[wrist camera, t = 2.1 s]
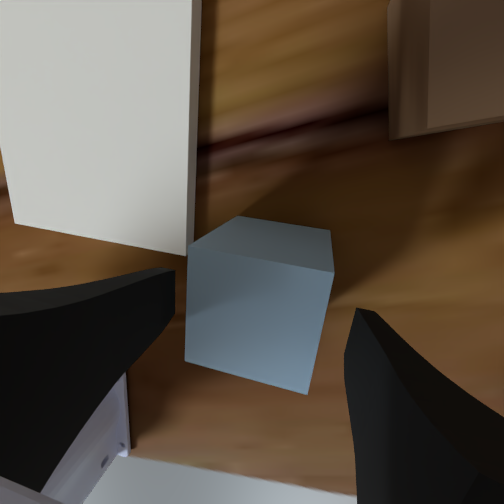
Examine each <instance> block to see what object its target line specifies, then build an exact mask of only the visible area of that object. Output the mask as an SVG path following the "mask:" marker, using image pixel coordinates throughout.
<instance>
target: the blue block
mask: <svg viewBox="0 0 504 504" xmlns="http://www.w3.org/2000/svg"><path fill="white" fill-rule="evenodd" d="M334 273H335V272H334V263H333V253H332V243H331V233H330V230H325V229H319V228H313V227H306V226H300V225H293V224H287V223H281V222H274V221H268V220H262V219H255V218H249V217H243V216H236V217H234V218H233V219H231V220H229V221H228V222H226V223H224V224H223V225H221V226H220V227H218V228H216V229H215V230H213V231H211V232H210V233H208V234H206V235H205V236H203V237H202V238H200V239H198V240H197V241H195V242H193V243H192V244H190V245H188V265H187V299H186V333H185V361H186V362H190V363H193V364H197V365H200V366H204V367H208V368H211V369H215V370H219V371H222V372H226V373H229V374H233V375H237V376H240V377H244V378H248V379H251V380H255V381H258V382H262V383H266V384H269V385H273V386H276V387H280V388H284V389H287V390H291V391H295V392H298V393H302V394H305V395H307V394H308V389H309V385H310V380H311V376H312V372H313V367H314V363H315V358H316V354H317V349H318V345H319V340H320V336H321V331H322V327H323V322H324V318H325V314H326V309H327V305H328V300H329V296H330V291H331V287H332V282H333V278H334Z"/></svg>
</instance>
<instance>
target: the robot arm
mask: <svg viewBox="0 0 504 504" xmlns="http://www.w3.org/2000/svg"><path fill="white" fill-rule="evenodd" d="M174 314H175V270H172V269H167V268H162V267H161V268H153V269H148V270H143V271H139V272H134V273H130V274H126V275H122V276H117V277H113V278H109V279H104V280H99V281H94V282H90V283H85V284H79V285H74V286H67V287H60V288H53V289H45V290H33V291H21V292H9V293H0V504H83V502H84V501H85V499H86V498H87V497H88V495H89V494H90V492H91V491H92V489H93V488H94V487H95V485H96V484H97V482H98V481H99V480H100V478H101V477H102V475H103V474H104V473H105V471H106V470H107V468H108V467H109V465H110V464H111V463H112V461H113V460H114V458H115V457H116V455H120V456H122V457H127V456H128V455H129V454H130V452H131V448H130V432H129V416H128V400H127V384H126V371H127V370H128V369H129V368H130V366H131V365H132V364H133V363H134V362H135V361H136V360H137V359H138V358H139V357H140V356H141V355H142V354H143V352H144V351H145V350H146V349H147V348H148V347H149V346H150V345H151V344H152V343H153V342H154V340H155V339H156V338H157V337H158V336H159V335H160V334H161V333H162V331H163V330H164V329H165V327H166V326H167V324H168V323H169V321H170V320H171V318H172V317H173V315H174ZM344 380H345V387H346V394H347V401H348V408H349V415H350V422H351V428H352V435H353V442H354V452H355V464H356V485H357V504H504V417H503V416H501V415H500V414H498V413H496V412H495V411H493V410H492V409H490V408H489V407H487V406H486V405H484V404H483V403H481V402H480V401H478V400H477V399H476V398H474V397H473V396H471V395H470V394H468V393H467V392H466V391H464V390H463V389H462V388H460V387H459V386H458V385H456V384H455V383H454V382H452V381H451V380H450V379H448V378H447V377H446V376H445V375H443V374H442V373H441V372H440V371H438V370H437V369H436V368H435V367H433V366H432V365H431V364H430V363H429V362H428V361H427V360H425V359H424V358H423V357H422V356H421V355H420V354H418V353H417V352H416V351H415V350H414V349H413V348H412V347H411V346H410V345H409V344H408V343H407V342H406V341H405V340H403V339H402V338H401V337H400V336H399V335H398V334H397V333H396V332H395V331H394V330H393V329H392V328H391V327H390V326H389V325H388V324H387V323H386V322H385V321H384V320H383V319H382V318H381V317H380V316H379V315H378V314H377V313H376V312H374V311H370V310H365V309H361V308H356V311H355V315H354V318H353V322H352V326H351V330H350V333H349V337H348V341H347V345H346V349H345V352H344Z"/></svg>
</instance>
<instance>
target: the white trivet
mask: <svg viewBox="0 0 504 504" xmlns="http://www.w3.org/2000/svg"><path fill="white" fill-rule="evenodd" d="M201 10H202V0H0V147H1V153H2V158H3V163H4V168H5V174H6V179H7V184H8V190H9V195H10V200H11V205H12V211H13V216H14V221H15V223H16V224H21V225H27V226H32V227H37V228H42V229H47V230H53V231H58V232H63V233H68V234H73V235H79V236H84V237H89V238H94V239H99V240H104V241H110V242H115V243H120V244H125V245H130V246H136V247H141V248H146V249H151V250H156V251H162V252H167V253H172V254H177V255H182V256H186V255H188V245H190V244H192V243H193V242H194V217H195V187H196V158H197V128H198V99H199V69H200V40H201Z"/></svg>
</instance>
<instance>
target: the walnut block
mask: <svg viewBox="0 0 504 504" xmlns="http://www.w3.org/2000/svg"><path fill="white" fill-rule="evenodd" d="M387 29H388V107H389V141H391V140H397V139H403V138H409V137H415V136H421V135H427V134H433V133H439V132H445V131H451V130H457V129H463V128H469V127H475V126H481V125H487V124H493V123H499V122H504V0H390V3H389V5H388V7H387Z"/></svg>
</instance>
